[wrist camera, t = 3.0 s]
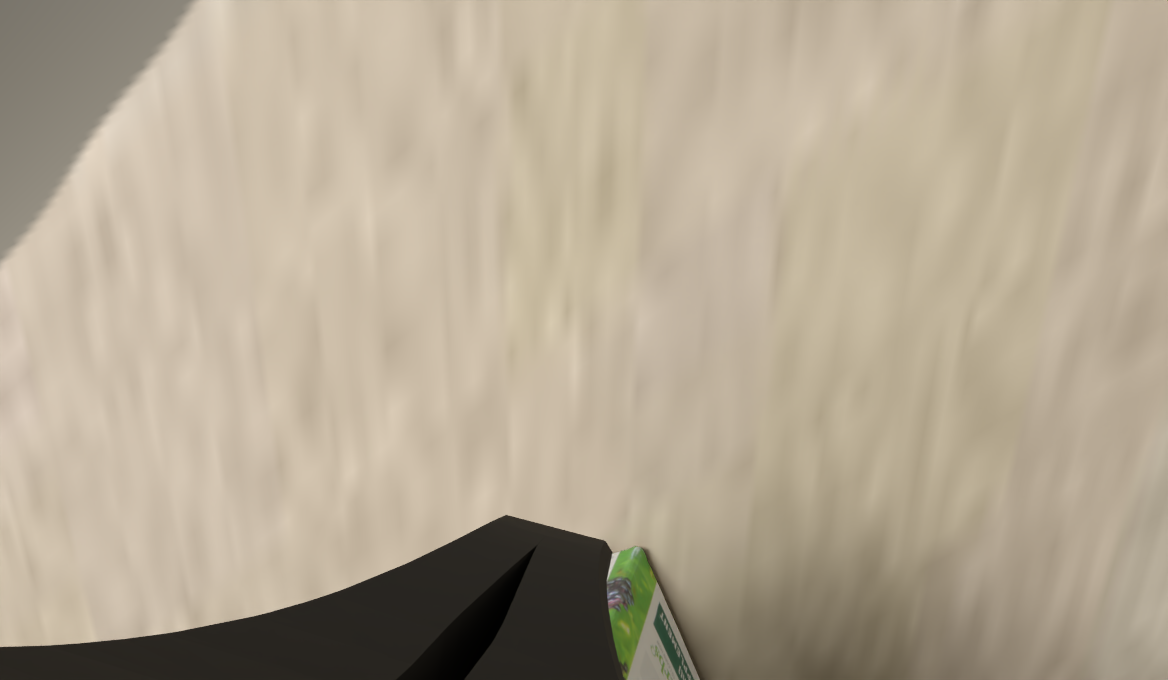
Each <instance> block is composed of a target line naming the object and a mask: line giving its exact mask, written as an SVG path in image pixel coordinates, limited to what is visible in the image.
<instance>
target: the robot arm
mask: <svg viewBox="0 0 1168 680" xmlns="http://www.w3.org/2000/svg"><path fill="white" fill-rule="evenodd" d="M611 558H612V551H611V549H610V548H609V546H608V545H607V543H606V541H603V540H599V539H596V538H592V537H588V536H584V535H580V534H577V533H573V532H569V531H565V530H561V529H557V528H554V527H550V526H546V525H542V524H538V523H535V522H531V521H527V520H523V519H519V518H516V517H512V516H508V515H506V516H503V517H501V518H498V519H496V520H494V521H492V522H490V523H488V524H486V525H484V526H482V527H480V528H478V529H476V530H474V531H472V532H470V533H468V534H466V535H464V536H462V537H461V538H459V539H457V540H455V541H453V542H451V543H449V544H446V545H444V546H442V547H440V548H438V549H436V550H434V551H432V552H430V553H428V554H426V555H424V556H422V557H420V558H418V559H415V560H413V561H411V562H409V563H407V564H405V565H402V566H400V567H397V568H395V569H392V570H390V571H388V572H385V573H383V574H380V575H378V576H375V577H373V578H370V579H368V580H366V581H363V582H361V583H358V584H356V585H353V586H351V587H349V588H346V589H343V590H341V591H338V592H335V593H332V594H329V595H326V596H323V597H320V598H317V599H314V600H311V601H308V602H305V603H301V604H298V605H294V606H291V607H287V608H284V609H280V610H277V611H273V612H270V613H266V614H262V615H258V616H254V617H249V618H244V619H239V620H234V621H229V622H224V623H219V624H214V625H209V626H204V627H199V628H194V629H189V630H184V631H179V632H173V633H167V634H160V635H152V636H145V637H137V638H130V639H121V640H111V641H101V642H90V643H80V644H66V645H52V646H22V647H0V680H624V677H623V674H622V670H621V666H620V663H619V659H618V656H617V651H616V647H615V642H614V638H613V632H612V626H611V620H610V614H609V608H608V598H607V577H608V572H609V567H610V562H611Z"/></svg>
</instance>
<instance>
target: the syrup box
mask: <svg viewBox="0 0 1168 680" xmlns="http://www.w3.org/2000/svg"><path fill="white" fill-rule="evenodd" d="M607 598H608V608H609V614H610V620H611V626H612V632H613V638H614V642H615V647H616V651H617V656H618V659H619V663H620V666H621V670H622V674H623V677H624V680H700V678H699V676H698V674H697V672H696V669H695V667H694V665H693V663H692V660H691V658H690V656H689V653H688V651H687V649H686V646H685V644H684V642H683V639H682V637H681V634H680V632H679V630H678V628H677V625H676V623H675V621H674V619H673V616H672V614H671V612H670V610H669V608H668V605H667V603H666V601H665V599H664V596H663V594H662V592H661V589H660V587H659V585H658V583H657V581H656V579H655V577H654V574H653V572H652V569H651V567H650V565H649V564H648V561H647V558H646V555H645V553H644V551H643V549H642V548H640V547H637V546H635V547H632V548H629V549H626V550H623V551H620V552H616V553H613V554H612V558H611V562H610V567H609V572H608V577H607Z"/></svg>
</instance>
